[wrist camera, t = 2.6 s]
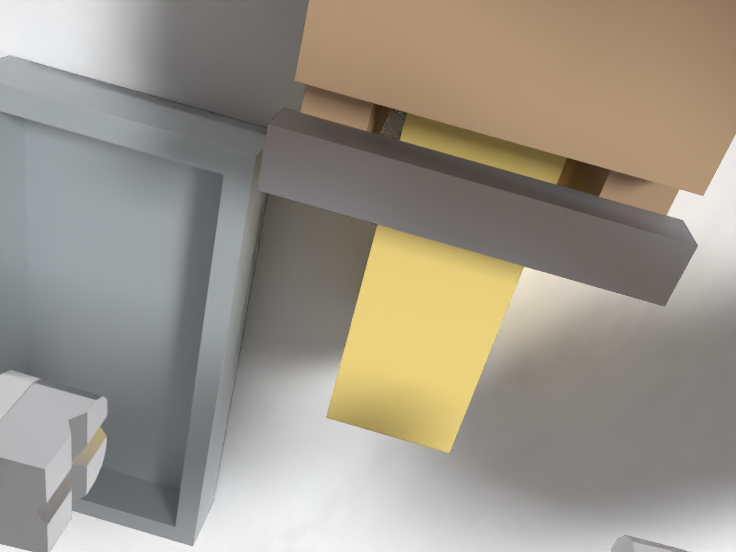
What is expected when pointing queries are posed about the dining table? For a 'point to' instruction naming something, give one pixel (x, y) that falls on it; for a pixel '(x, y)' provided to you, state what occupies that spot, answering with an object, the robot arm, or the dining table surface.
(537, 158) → the yellow rectangular block
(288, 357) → the dining table surface
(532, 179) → the dispenser
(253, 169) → the tray
